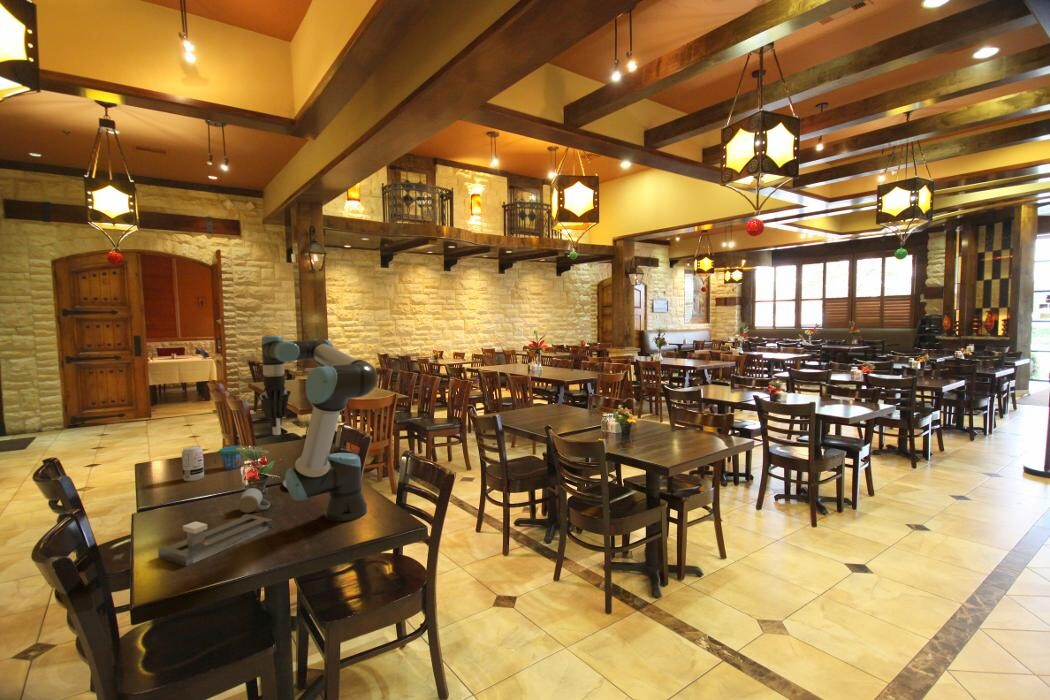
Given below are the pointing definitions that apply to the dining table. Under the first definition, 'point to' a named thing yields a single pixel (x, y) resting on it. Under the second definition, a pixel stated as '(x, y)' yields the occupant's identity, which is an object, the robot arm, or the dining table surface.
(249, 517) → the slider track base
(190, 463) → the supplement can
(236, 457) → the snack cup
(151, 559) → the dining table surface
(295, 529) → the dining table surface
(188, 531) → the fader tab
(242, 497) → the ceramic mug
